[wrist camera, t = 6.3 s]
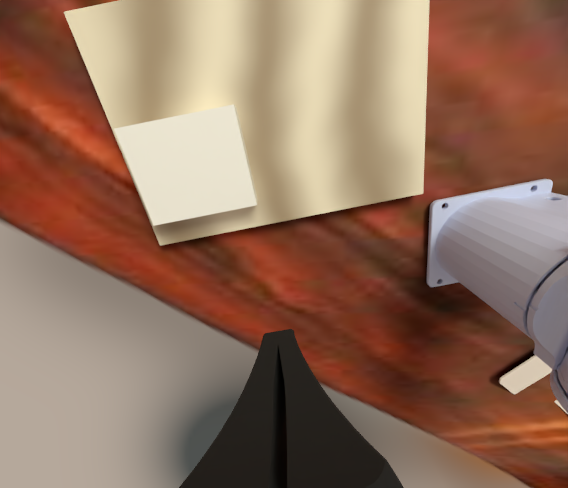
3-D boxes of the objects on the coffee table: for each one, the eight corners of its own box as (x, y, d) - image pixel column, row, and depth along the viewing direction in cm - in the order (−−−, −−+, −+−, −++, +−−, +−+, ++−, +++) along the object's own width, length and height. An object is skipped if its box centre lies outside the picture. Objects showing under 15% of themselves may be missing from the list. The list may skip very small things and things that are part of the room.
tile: (233, 104, 15) (113, 128, 15) (257, 205, 17) (153, 225, 18) (236, 106, 17) (127, 128, 17) (257, 199, 19) (162, 218, 19)
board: (421, -53, 15) (431, -65, 14) (416, 190, 21) (423, 193, 20) (75, 19, 15) (63, 12, 14) (164, 240, 21) (160, 245, 20)
